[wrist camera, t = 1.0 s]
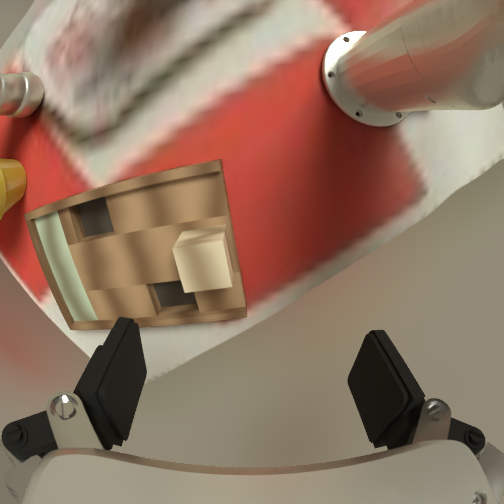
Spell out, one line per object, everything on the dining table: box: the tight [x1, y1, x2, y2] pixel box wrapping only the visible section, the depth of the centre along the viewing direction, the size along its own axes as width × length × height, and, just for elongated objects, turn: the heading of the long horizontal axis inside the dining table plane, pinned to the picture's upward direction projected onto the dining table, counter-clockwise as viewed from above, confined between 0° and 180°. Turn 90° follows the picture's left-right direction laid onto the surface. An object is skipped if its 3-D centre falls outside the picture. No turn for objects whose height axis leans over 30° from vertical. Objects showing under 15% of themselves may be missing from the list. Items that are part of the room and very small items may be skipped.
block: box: [172, 225, 234, 293], centre depth 29 cm, size 5×5×5 cm
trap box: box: [24, 159, 247, 330], centre depth 33 cm, size 28×19×3 cm
